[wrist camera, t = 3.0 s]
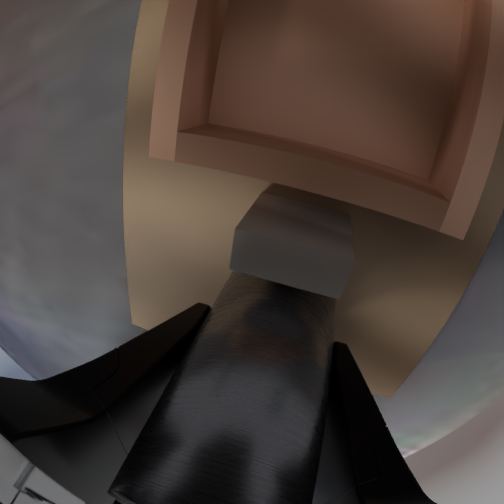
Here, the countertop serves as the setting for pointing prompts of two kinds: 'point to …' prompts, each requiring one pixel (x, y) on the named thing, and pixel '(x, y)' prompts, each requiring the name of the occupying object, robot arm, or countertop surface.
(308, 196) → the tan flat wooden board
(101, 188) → the countertop surface
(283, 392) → the cell
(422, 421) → the countertop surface
